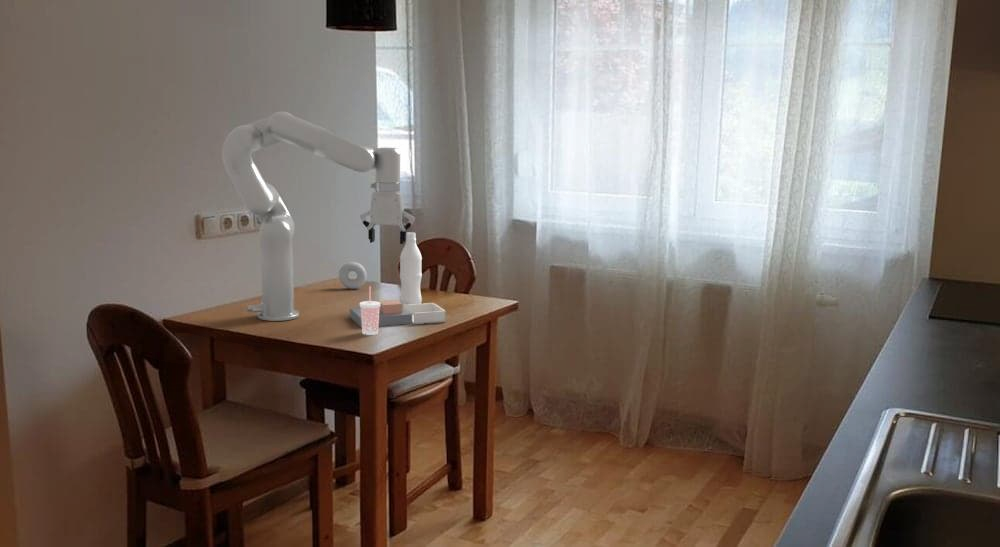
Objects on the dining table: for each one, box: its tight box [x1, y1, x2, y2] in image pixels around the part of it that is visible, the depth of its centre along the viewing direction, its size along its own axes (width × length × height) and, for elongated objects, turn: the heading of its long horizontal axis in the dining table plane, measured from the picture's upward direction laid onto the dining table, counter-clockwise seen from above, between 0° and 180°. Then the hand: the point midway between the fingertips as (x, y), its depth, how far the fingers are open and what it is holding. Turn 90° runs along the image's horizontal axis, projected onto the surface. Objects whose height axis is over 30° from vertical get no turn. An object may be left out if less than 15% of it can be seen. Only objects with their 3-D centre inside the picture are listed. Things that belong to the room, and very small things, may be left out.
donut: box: [338, 261, 368, 290], centre depth 322 cm, size 10×3×10 cm, turn 96°
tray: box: [403, 302, 447, 325], centre depth 280 cm, size 10×12×4 cm
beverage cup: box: [359, 285, 381, 336], centre depth 261 cm, size 6×6×14 cm
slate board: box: [349, 306, 413, 329], centre depth 277 cm, size 16×14×3 cm
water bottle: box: [399, 231, 423, 307], centre depth 293 cm, size 7×7×25 cm
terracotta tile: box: [377, 299, 402, 315], centre depth 276 cm, size 6×6×3 cm
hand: (387, 242), depth 279 cm, fingers open, 9 cm apart
